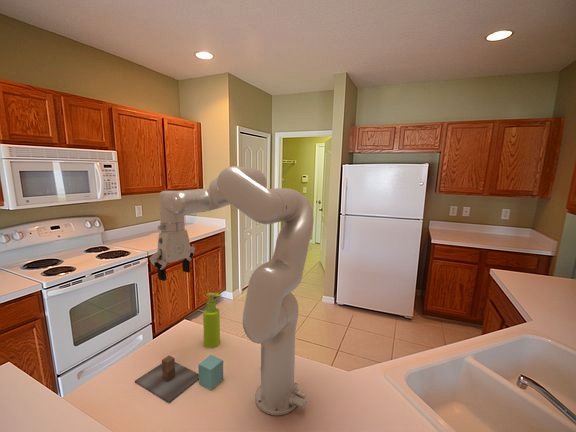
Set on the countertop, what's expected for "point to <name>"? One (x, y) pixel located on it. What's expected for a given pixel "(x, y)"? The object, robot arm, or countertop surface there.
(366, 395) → the countertop surface
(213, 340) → the soap dispenser
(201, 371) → the teal cuboid
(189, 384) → the grey base plate
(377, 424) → the countertop surface
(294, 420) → the countertop surface
